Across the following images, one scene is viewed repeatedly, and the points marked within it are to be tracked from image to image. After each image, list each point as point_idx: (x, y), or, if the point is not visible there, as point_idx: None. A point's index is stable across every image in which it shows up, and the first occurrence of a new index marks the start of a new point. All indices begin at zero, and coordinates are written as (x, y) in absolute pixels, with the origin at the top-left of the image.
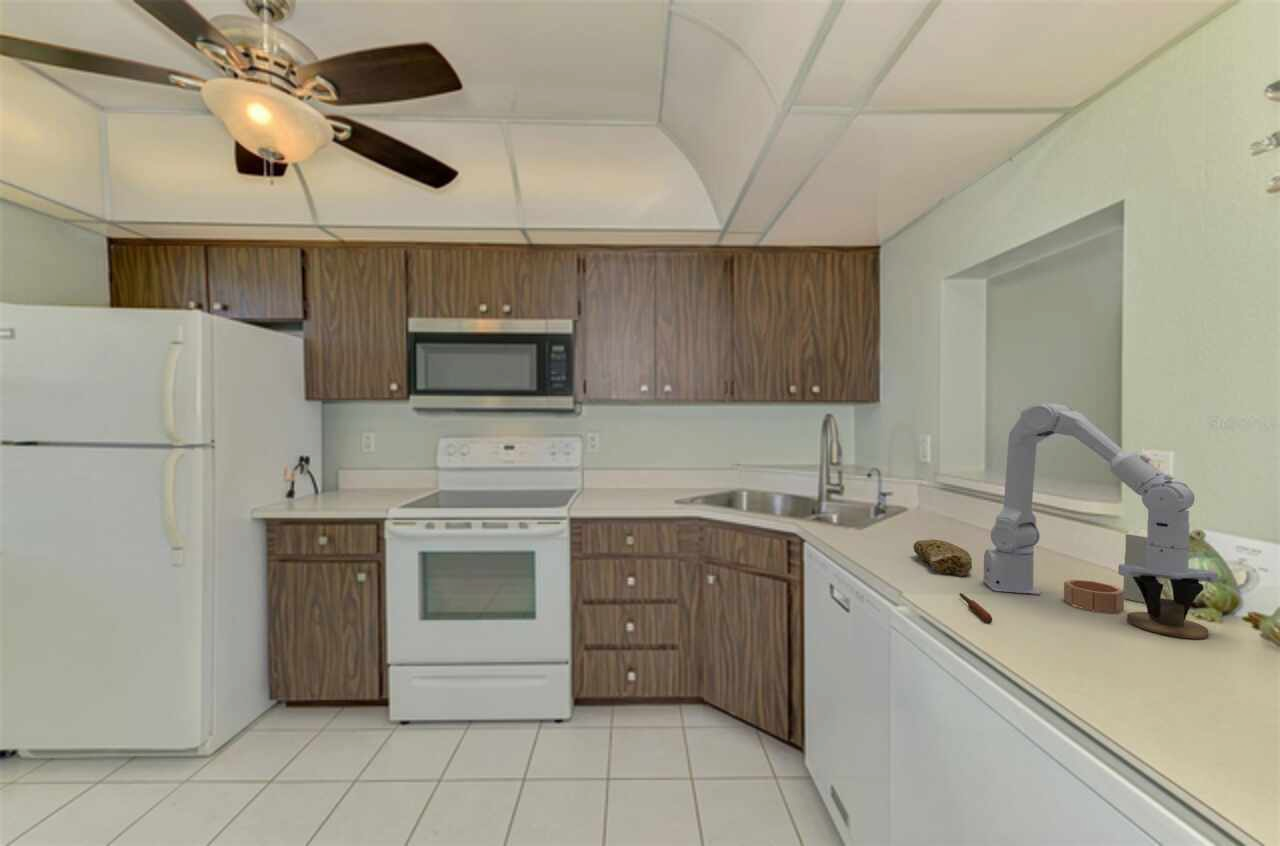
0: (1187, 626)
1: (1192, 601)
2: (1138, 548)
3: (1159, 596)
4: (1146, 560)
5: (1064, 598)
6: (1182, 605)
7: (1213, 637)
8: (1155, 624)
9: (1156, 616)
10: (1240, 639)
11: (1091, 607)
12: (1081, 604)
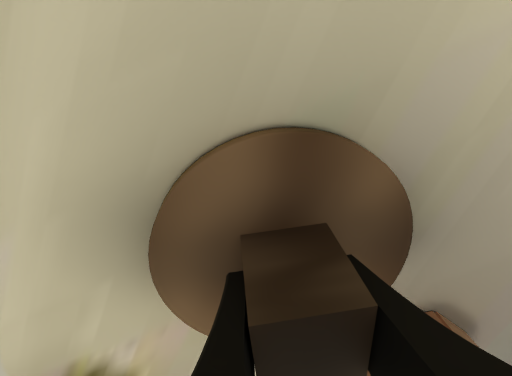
0: (221, 247)
1: (197, 371)
2: None
3: (424, 351)
4: None
5: None
6: (258, 324)
7: (143, 206)
8: (348, 217)
9: (347, 256)
10: (41, 226)
11: (447, 323)
12: (463, 335)
